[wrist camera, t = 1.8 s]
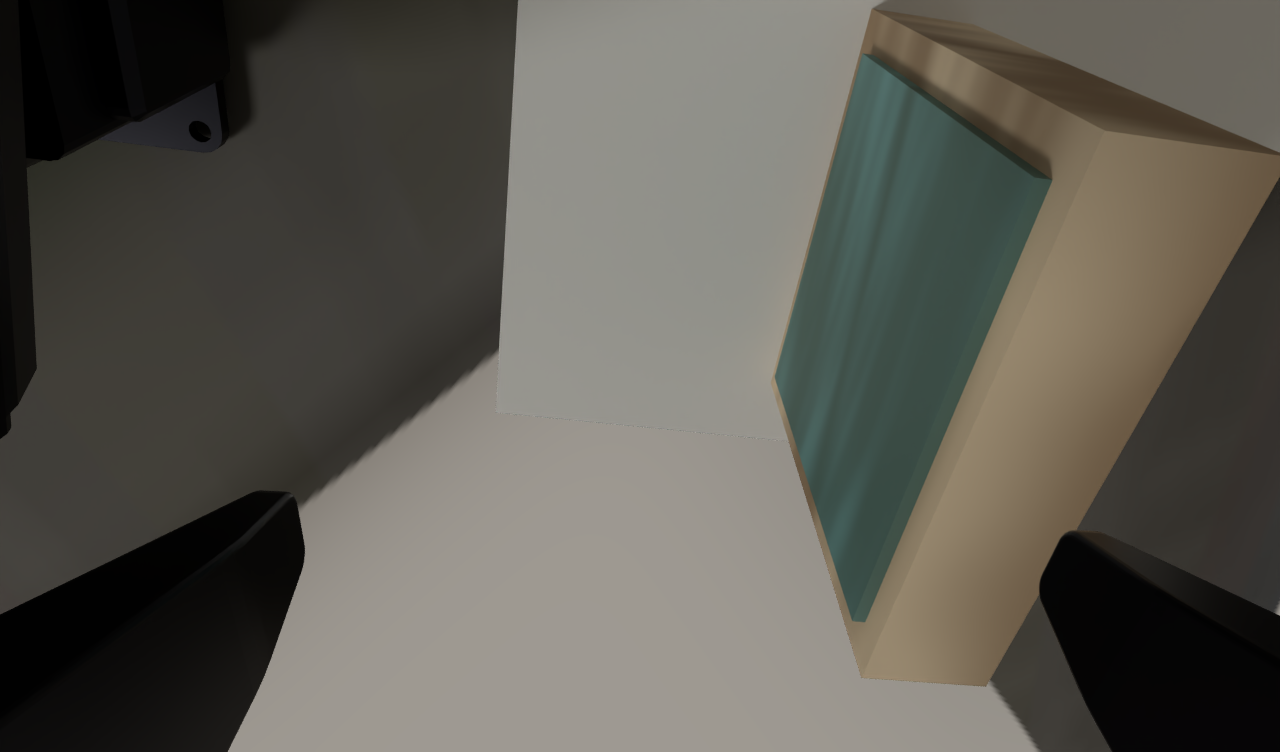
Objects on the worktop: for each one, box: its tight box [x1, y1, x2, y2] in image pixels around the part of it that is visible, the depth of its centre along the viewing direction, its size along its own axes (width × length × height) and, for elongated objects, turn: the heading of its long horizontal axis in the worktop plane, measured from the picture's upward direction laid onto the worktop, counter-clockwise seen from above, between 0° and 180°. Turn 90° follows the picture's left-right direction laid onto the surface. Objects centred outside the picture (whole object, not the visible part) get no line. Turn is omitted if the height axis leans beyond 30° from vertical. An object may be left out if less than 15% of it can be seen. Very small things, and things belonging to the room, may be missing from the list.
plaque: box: [771, 9, 1280, 686], centre depth 16 cm, size 3×10×10 cm, turn 172°
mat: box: [496, 0, 1280, 441], centre depth 21 cm, size 19×14×1 cm
